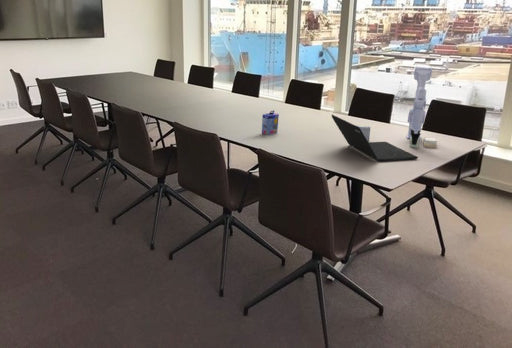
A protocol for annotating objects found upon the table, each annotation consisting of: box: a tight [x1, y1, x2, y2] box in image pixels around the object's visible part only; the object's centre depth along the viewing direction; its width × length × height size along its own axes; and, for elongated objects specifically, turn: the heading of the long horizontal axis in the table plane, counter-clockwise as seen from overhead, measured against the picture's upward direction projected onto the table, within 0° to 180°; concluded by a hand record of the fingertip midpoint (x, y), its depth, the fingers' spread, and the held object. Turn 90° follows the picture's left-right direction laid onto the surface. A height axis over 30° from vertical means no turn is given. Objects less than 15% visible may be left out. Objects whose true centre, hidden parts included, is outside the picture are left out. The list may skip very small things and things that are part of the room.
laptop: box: [331, 114, 419, 162], centre depth 260 cm, size 33×38×19 cm
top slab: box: [423, 137, 438, 146], centre depth 280 cm, size 6×6×2 cm
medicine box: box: [357, 125, 371, 142], centre depth 287 cm, size 8×4×9 cm, turn 92°
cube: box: [409, 138, 420, 148], centre depth 278 cm, size 4×4×4 cm
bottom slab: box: [422, 141, 437, 149], centre depth 281 cm, size 7×7×2 cm
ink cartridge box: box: [261, 110, 280, 136], centre depth 295 cm, size 10×6×14 cm, turn 137°
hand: (413, 143), depth 278 cm, fingers open, 7 cm apart
